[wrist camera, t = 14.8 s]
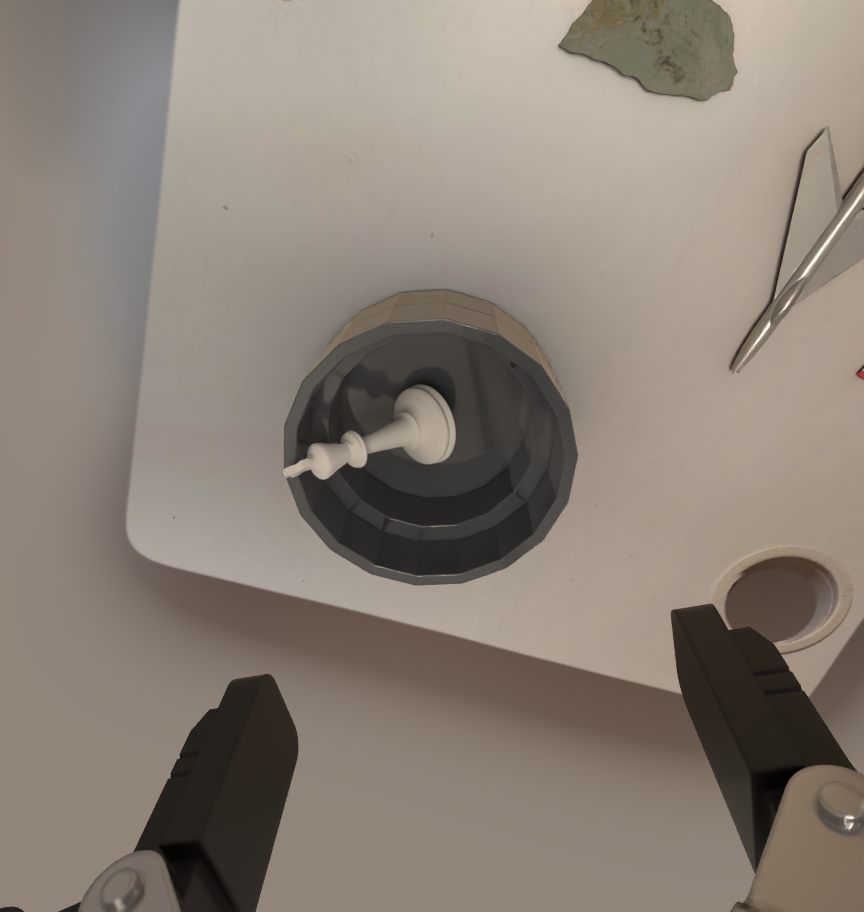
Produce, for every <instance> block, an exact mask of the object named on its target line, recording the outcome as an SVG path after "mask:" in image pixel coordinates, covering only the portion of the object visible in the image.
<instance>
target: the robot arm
mask: <svg viewBox="0 0 864 912" xmlns="http://www.w3.org/2000/svg"><path fill="white" fill-rule="evenodd" d="M671 622H672V631H673V639H674V648H675V657H676V666H677V674H678V679H679V684H680V688H681V692H682V695H683V698H684V701H685V704H686V706H687V709H688V712H689V714H690V717H691V719H692V721H693V724H694V726H695V729H696V731H697V733H698V736H699V738H700V741H701V743H702V746H703V748H704V751H705V753H706V756H707V758H708V760H709V763H710V765H711V768H712V770H713V773H714V775H715V777H716V780H717V782H718V785H719V787H720V790H721V792H722V794H723V797H724V799H725V802H726V804H727V807H728V809H729V811H730V814H731V816H732V819H733V821H734V824H735V826H736V829H737V831H738V833H739V836H740V838H741V841H742V843H743V846H744V848H745V850H746V853H747V855H748V858H749V860H750V863H751V865H752V868H753V870H754V873H755V877H754V880H753V882H752V885H751V888H750V891H749V894H748V896H747V898H746V900H745V901H744V903H741V902H737V903H736V904H735V905H734V906H733V908H732V910H731V912H864V775H863V774H861V773H859V772H857V771H856V769H855V768H854V767H853V766H852V764H851V763H850V762H849V760H848V758H847V757H846V755H845V754H844V752H843V751H842V749H841V748H840V746H839V745H838V743H837V741H836V740H835V738H834V737H833V735H832V734H831V732H830V731H829V729H828V727H827V726H826V724H825V723H824V721H823V720H822V718H821V717H820V715H819V714H818V712H817V710H816V709H815V707H814V706H813V704H812V703H811V701H810V699H809V698H808V696H807V695H806V693H805V692H804V691H802V689H801V685H800V684H799V682H798V681H797V679H796V678H795V676H794V674H793V673H792V672H790V670H789V667H788V665H787V664H786V662H785V660H784V659H783V657H782V656H781V654H780V653H779V651H778V650H777V648H776V646H775V645H774V644H773V643H771V642H770V641H769V640H767V639H766V638H765V637H763V636H761V635H760V634H759V633H758V632H756V631H755V630H753V629H752V628H751V627H746V628H740V629H733V630H728V628H727V627H726V625H725V623H724V621H723V620H722V618H721V616H720V614H719V613H718V611H717V609H716V608H715V606H714V605H713V604H706V605H700V606H694V607H688V608H681V609H675V610H672V611H671ZM297 757H298V736H297V731H296V728H295V725H294V723H293V720H292V718H291V716H290V713H289V711H288V709H287V707H286V704H285V702H284V700H283V697H282V695H281V693H280V691H279V688H278V686H277V684H276V682H275V680H274V678H273V677H272V676H271V675H270V674H264V675H259V676H252V677H246V678H240V679H234V680H232V681H231V682H230V683H229V685H228V687H227V689H226V692H225V694H224V696H223V698H222V701H221V703H220V705H219V707H218V708H216V709H210V710H209V711H208V712H207V713H206V714H205V715H204V717H203V718H202V719H201V720H200V721H199V722H198V723H197V724H196V726H195V727H194V728H193V729H192V730H191V732H190V734H189V736H188V738H187V740H186V742H185V744H184V746H183V748H182V750H181V753H180V759H177V761H176V763H175V765H174V768H173V770H172V772H171V778H170V779H168V780H167V783H166V784H165V786H164V789H163V791H162V793H161V795H160V797H159V799H158V802H157V803H156V805H155V808H154V810H153V812H152V814H151V816H150V818H149V820H148V822H147V825H146V827H145V829H144V831H143V833H142V835H141V837H140V839H139V841H138V844H137V846H136V848H135V850H134V852H133V853H130V854H128V855H126V856H124V857H122V858H120V859H119V860H117V861H115V862H114V863H113V864H111V865H110V866H109V867H107V868H106V869H105V870H104V871H103V872H102V873H101V874H100V875H99V876H98V877H97V878H96V879H95V881H94V882H93V883H92V884H91V886H90V887H89V889H88V890H87V892H86V894H85V895H84V897H83V900H82V901H81V902H79V903H77V904H75V905H73V906H70V907H68V908H66V909H64V910H61V911H59V912H256V908H257V904H258V901H259V897H260V893H261V890H262V886H263V882H264V879H265V875H266V871H267V868H268V864H269V861H270V857H271V853H272V850H273V846H274V842H275V838H276V835H277V831H278V828H279V824H280V820H281V816H282V813H283V809H284V805H285V802H286V798H287V794H288V791H289V787H290V784H291V780H292V776H293V772H294V769H295V765H296V761H297ZM0 912H23V911H22V910H21V909H19V908H17V907H4V908H0Z"/></svg>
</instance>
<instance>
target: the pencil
mask: <svg viewBox="0 0 864 912" xmlns="http://www.w3.org/2000/svg"><path fill="white" fill-rule="evenodd" d="M858 376H859V377H861V378H862V379H864V368H863V369H862V370H861V371H860V372H859V373H858Z"/></svg>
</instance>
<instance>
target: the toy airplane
mask: <svg viewBox="0 0 864 912" xmlns="http://www.w3.org/2000/svg"><path fill="white" fill-rule="evenodd" d="M863 205H864V172H863V173H862V174H861V176H860V177H859V179H858V180H857V181H856V183H855V184H854V186H853V187H852V188H851V190H850V191H849V193H848V194H847V196H846V197H845V198H844V200H843V201H842V195H841V190H840V185H839V179H838V174H837V169H836V163H835V158H834V153H833V148H832V142H831V137H830V132H829V127H828V128H827V129H826V130H825V131H824V132H823V133H822V134H821V136H820V137H819V138H818V139H817V140H816V141H815V143H814V144H813V145H812V146H811V147H810V148H809V149H808V151H807V154H806V158H805V163H804V167H803V172H802V176H801V181H800V185H799V189H798V194H797V198H796V203H795V207H794V212H793V216H792V220H791V225H790V229H789V234H788V238H787V243H786V247H785V252H784V256H783V260H782V265H781V269H780V274H779V278H778V283H777V287H776V291H775V296H774V300H773V301H772V303H771V304H770V306H769V307H768V308H767V310H766V311H765V313H764V314H763V316H762V317H761V318H760V320H759V321H758V323H757V324H756V326H755V327H754V329H753V330H752V332H751V333H750V335H749V337H748V338H747V340H746V341H745V343H744V345H743V347H742V348H741V350H740V352H739V354H738V356H737V357H736V359H735V361H734V363H733V365H732V367H731V370H733V373H734V372H737V373H738V372H739V371H740V370H741V369H742V368H743V367H744V366H745V365H746V364H747V363H748V362H749V361H750V360H751V358H752V357H753V356H754V355H755V354H756V353H757V351H758V350H759V349H760V348H761V347H762V345H763V344H764V343H765V342H766V340H767V339H768V338H769V336H770V335H771V334H772V332H773V331H774V330H775V328H776V327H777V325H778V324H779V323H780V321H781V320H782V319H783V318H784V316H785V315H786V314H787V313H788V312H789V311H790V309H791V308H792V306H794V305H795V304H797V303H798V302H800V301H801V300H803V299H804V298H806V297H807V296H808V295H810V294H811V293H813V292H814V291H816V290H817V289H819V288H820V287H822V286H823V285H825V284H826V283H828V282H829V281H831V280H832V279H833V278H835V277H836V276H838V275H839V274H841V273H842V272H844V271H845V270H847V269H848V268H850V267H851V266H853V265H854V264H856V263H857V262H859V261H860V260H861V259H863V258H864V210H860V209H861V208H862V207H863ZM733 373H732V374H733Z"/></svg>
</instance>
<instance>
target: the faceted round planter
mask: <svg viewBox="0 0 864 912" xmlns="http://www.w3.org/2000/svg"><path fill="white" fill-rule="evenodd" d="M418 384H422V385H427V386H429V387H431V388H433V389H434V390H436V391H437V392H438V393H439V394H440V395H441V396H442V397H443V398H444V400H445V401H446V403H447V404H448V406H449V408H450V410H451V413H452V415H453V419H454V423H455V429H456V439H455V445H454V448H453V451H452V453H451V454H450V456H449V457H448V458H447V459H446V460H444V461H442V462H439V463H434V464H423V463H420V462H418V461H416V460H414V459H413V458H412V457H411V456H410V455H409V454H408V453H407V452H406V451H405V450H404V448H403V447H397V448H392V449H387V450H382V451H378V452H374V453H370V454H367V461H366V464H365V465H364V466H363V467H360V468H358V467H357V468H355V467H352V466H351V465H349V464H348V463H346V464H345V465H344V466H342V467H341V468H339V469H338V470H337V471H336V472H335V473H334V474H333V475H332V476H330V477H329V478H327V479H324V480H322V479H319V478H318V477H316V476H315V475H314V474H313V472H312V471H311V469H310V470H307V471H304V472H302V473H301V474H300V475H298V476H296V477H293V478H291V476H290V477H287V478H286V479H287V481H288V484H289V486H290V489H291V491H292V494H293V497H294V499H295V502H296V504H297V507H298V510H299V512H300V514H301V516H302V517H303V518H304V520H305V521H306V522H307V523H308V524H309V525H310V527H311V528H312V529H313V530H314V531H315V532H316V534H317V535H318V536H319V537H320V538H321V539H322V540H323V542H324V543H325V544H326V545H327V546H328V547H329V549H331V550H332V551H334V552H335V553H337V554H338V555H340V556H342V557H343V558H345V559H347V560H348V561H350V562H352V563H353V564H355V565H357V566H358V567H360V568H362V569H363V570H365V571H367V572H368V573H371V574H373V575H377V576H380V577H384V578H388V579H392V580H396V581H400V582H404V583H408V584H412V585H437V584H461V583H462V582H463V583H465V582H468V581H471V580H474V579H477V578H480V577H482V576H485V575H488V574H491V573H494V572H497V571H500V570H502V569H505V568H507V567H509V566H510V565H511V564H513V563H514V562H515V561H517V560H518V559H519V558H520V557H522V556H523V555H524V554H526V553H527V552H528V551H530V550H531V549H532V548H534V547H535V546H536V545H538V544H539V543H540V542H542V540H544V538H545V537H546V535H547V534H548V532H549V531H550V529H551V528H552V526H553V525H554V523H555V522H556V520H557V518H558V517H559V515H560V514H561V512H562V511H563V509H564V508H565V506H566V505H567V503H568V501H569V496H570V492H571V487H572V482H573V478H574V473H575V468H576V463H577V459H578V453H577V447H576V442H575V436H574V431H573V425H572V419H571V414H570V409H569V407H568V405H567V402H566V400H565V398H564V395H563V393H562V391H561V389H560V386H559V384H558V382H557V380H556V378H555V375H554V373H553V371H552V369H551V366H550V364H549V363H548V361H547V360H546V358H545V357H544V355H543V353H542V352H541V350H540V349H539V347H538V345H537V344H536V342H535V341H534V339H533V337H532V336H531V334H530V333H529V331H528V330H527V329H526V328H525V327H523V326H522V325H521V324H519V323H518V322H517V321H515V320H514V319H513V318H511V317H510V316H509V315H507V314H506V313H505V312H503V311H502V310H501V309H499V308H498V307H497V306H495V305H494V304H493V303H490V302H488V301H484V300H481V299H477V298H474V297H470V296H467V295H464V294H460V293H457V292H453V291H450V290H434V291H420V292H406V293H399V294H397V295H395V296H393V297H390V298H388V299H386V300H384V301H382V302H380V303H377V304H375V305H373V306H371V307H369V308H366V309H364V310H362V311H360V312H359V313H358V314H357V315H356V316H355V317H354V318H353V319H352V320H351V321H350V322H349V323H348V324H347V325H346V326H345V327H344V328H343V329H342V330H341V331H340V332H339V333H338V334H337V335H336V336H335V337H334V338H333V339H332V340H331V341H330V342H329V344H328V345H327V347H326V348H325V350H324V351H323V352H322V354H321V355H320V357H319V358H318V360H317V361H316V363H315V364H314V365H313V367H312V368H311V370H310V371H309V373H308V374H307V375H306V377H305V378H304V380H303V381H302V383H301V386H300V388H299V391H298V393H297V395H296V398H295V400H294V403H293V405H292V408H291V410H290V412H289V415H288V417H287V420H286V422H285V426H284V469H285V468H287V467H290V466H292V465H295V464H297V463H298V462H299V461H301V460H304V459H307V451H308V448H309V446H310V445H311V444H314V443H326V444H333V443H337V444H341V438H342V436H343V435H344V434H345V433H346V432H347V431H355V432H356V433H358V434H359V435H360V436H361V438H362V437H364V436H366V435H368V434H370V433H372V432H374V431H376V430H378V429H380V428H382V427H384V426H386V425H388V424H390V423H392V422H394V420H393V412H394V406H395V402H396V400H397V398H398V396H399V395H400V394H401V393H402V392H403V391H404V390H406V389H408V388H410V387H412V386H414V385H418Z"/></svg>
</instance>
